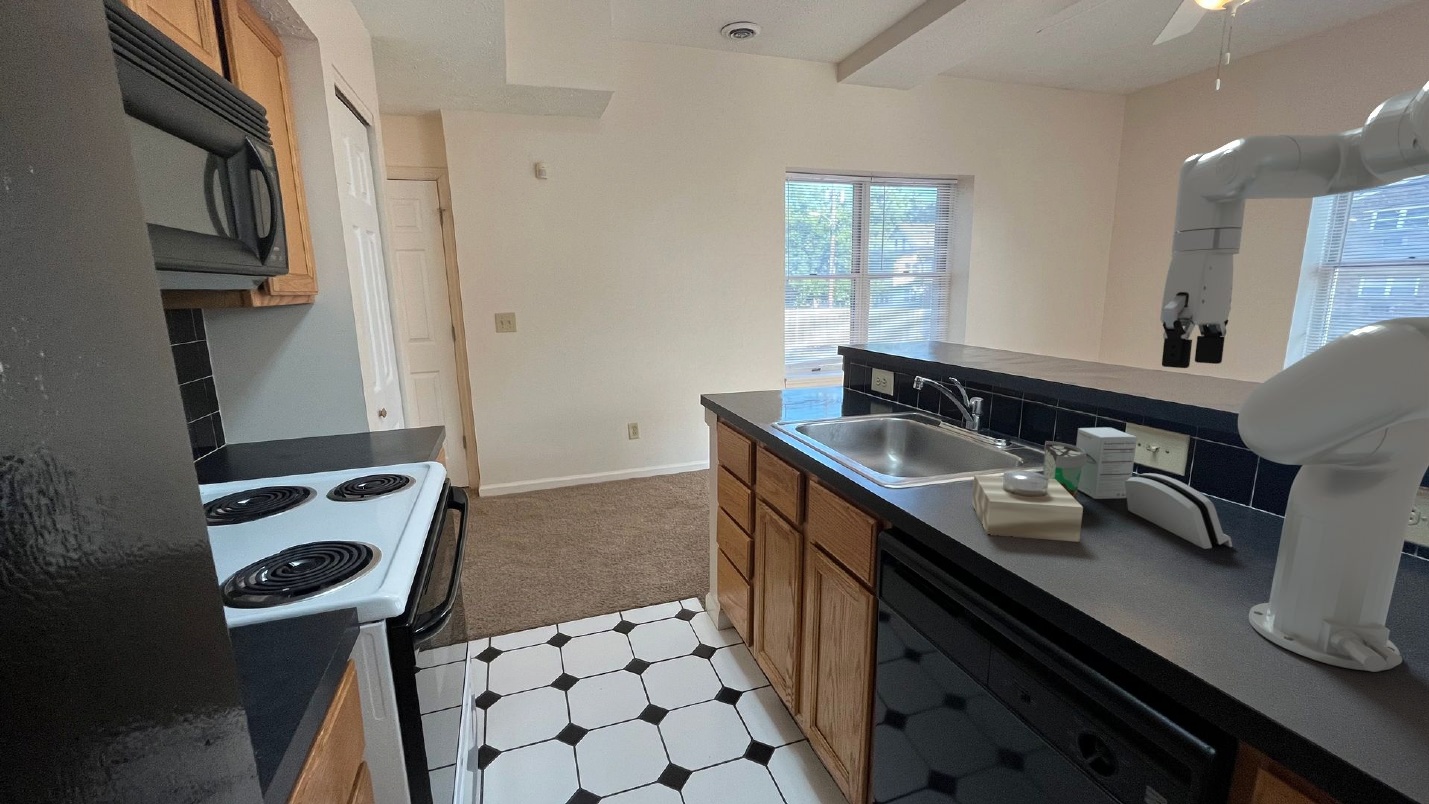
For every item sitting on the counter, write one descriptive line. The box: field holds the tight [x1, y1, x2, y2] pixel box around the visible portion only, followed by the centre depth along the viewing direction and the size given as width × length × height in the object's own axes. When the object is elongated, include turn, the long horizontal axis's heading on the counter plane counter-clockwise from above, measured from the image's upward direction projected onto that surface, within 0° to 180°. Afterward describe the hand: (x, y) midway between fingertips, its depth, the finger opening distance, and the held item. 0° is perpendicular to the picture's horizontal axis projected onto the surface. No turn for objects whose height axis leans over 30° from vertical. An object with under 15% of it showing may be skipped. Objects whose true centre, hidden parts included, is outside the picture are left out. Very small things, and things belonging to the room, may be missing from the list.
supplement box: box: [1075, 426, 1138, 500], centre depth 119 cm, size 7×7×13 cm
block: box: [971, 474, 1084, 543], centre depth 106 cm, size 14×14×6 cm
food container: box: [1042, 440, 1087, 500], centre depth 116 cm, size 12×6×10 cm, turn 161°
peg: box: [1002, 469, 1049, 497], centre depth 106 cm, size 7×7×8 cm
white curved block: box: [1125, 472, 1233, 550], centre depth 103 cm, size 17×5×10 cm, turn 4°
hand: (1191, 365), depth 88 cm, fingers open, 9 cm apart
